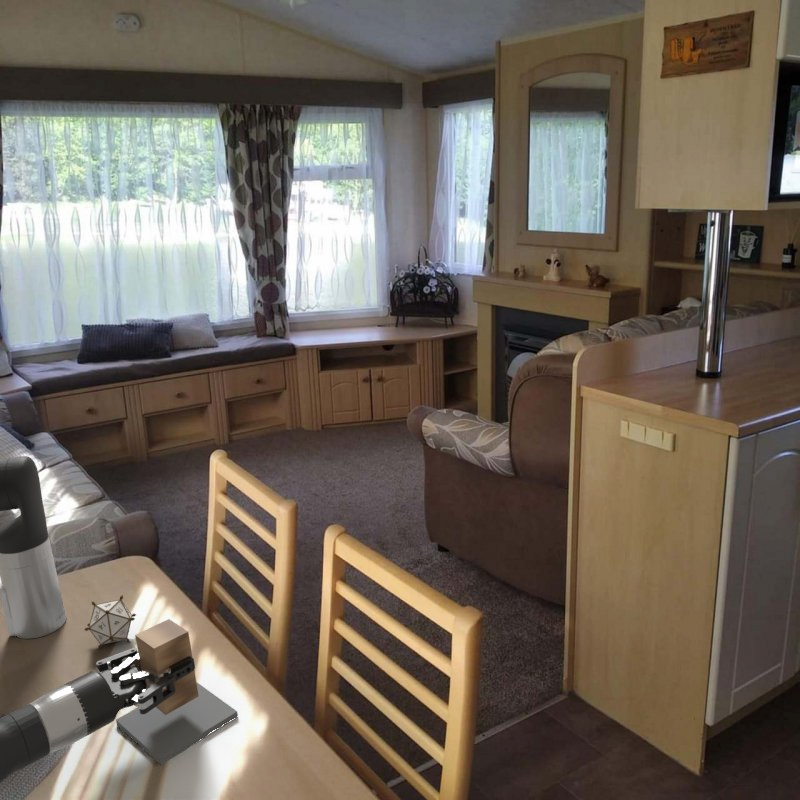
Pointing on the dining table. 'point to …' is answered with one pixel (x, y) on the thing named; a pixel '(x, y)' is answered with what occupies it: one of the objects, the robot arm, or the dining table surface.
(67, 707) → the robot arm
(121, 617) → the game die
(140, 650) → the walnut block
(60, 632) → the dining table surface
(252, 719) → the dining table surface
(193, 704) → the rubber mat
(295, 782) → the dining table surface
